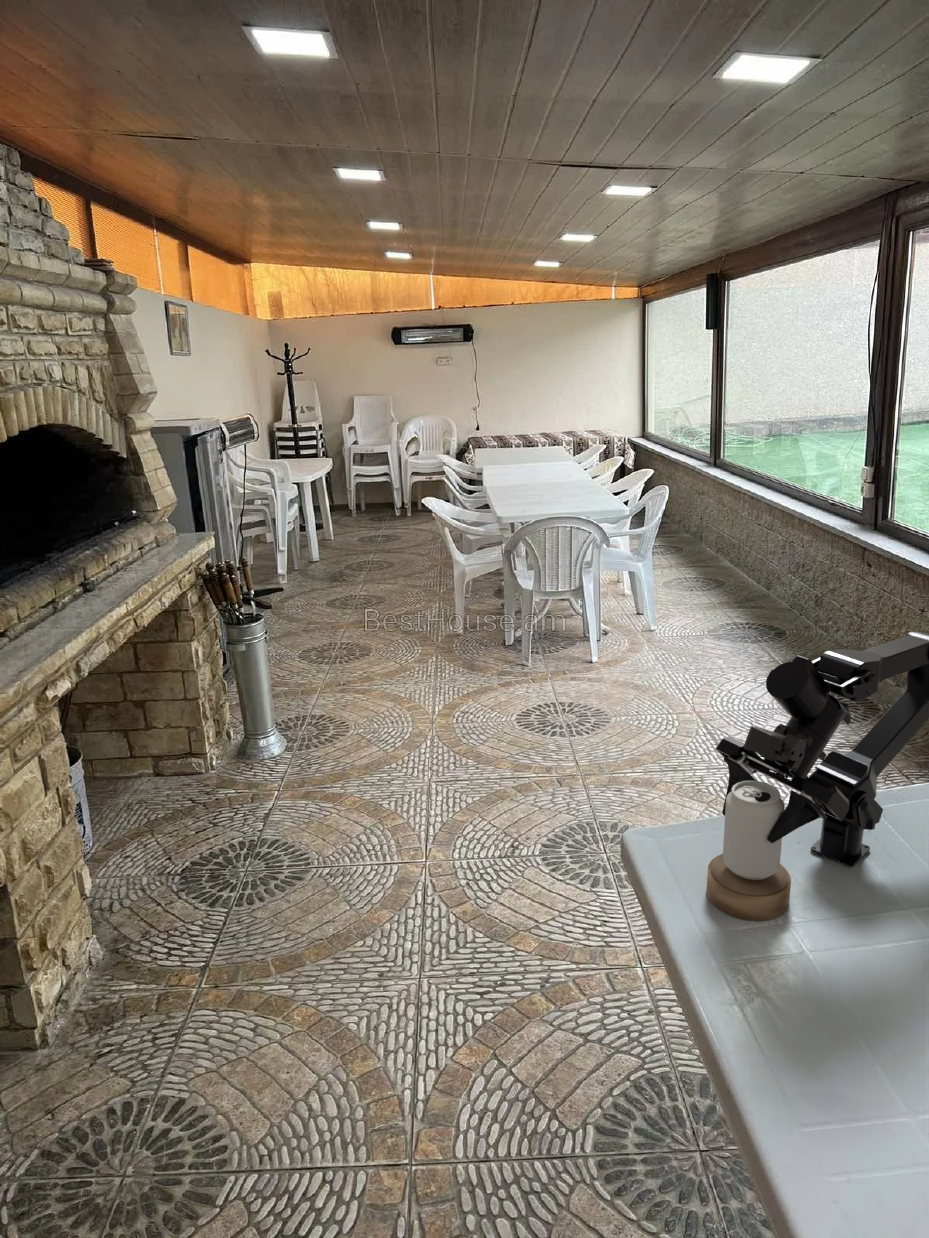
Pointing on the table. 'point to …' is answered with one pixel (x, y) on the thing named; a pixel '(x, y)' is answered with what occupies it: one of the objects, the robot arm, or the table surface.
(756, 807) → the can
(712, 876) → the brown wooden disc
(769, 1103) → the table surface
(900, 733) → the robot arm
